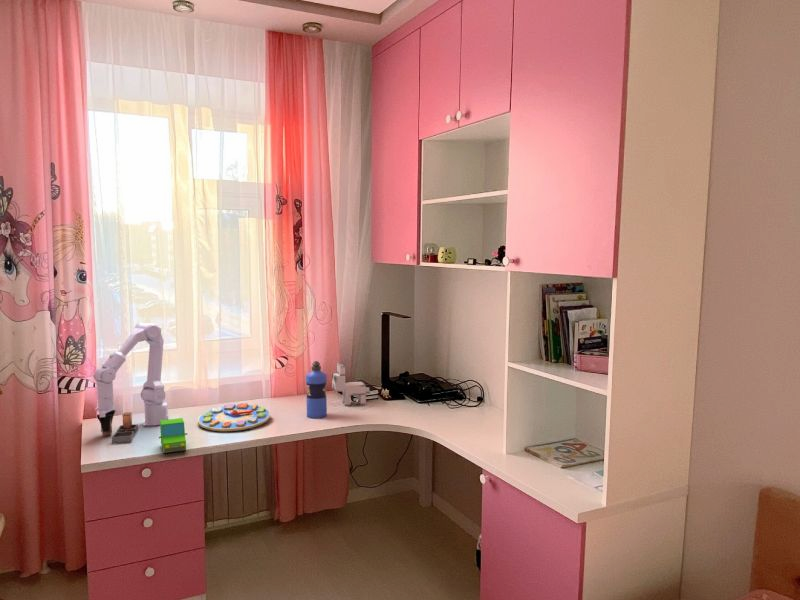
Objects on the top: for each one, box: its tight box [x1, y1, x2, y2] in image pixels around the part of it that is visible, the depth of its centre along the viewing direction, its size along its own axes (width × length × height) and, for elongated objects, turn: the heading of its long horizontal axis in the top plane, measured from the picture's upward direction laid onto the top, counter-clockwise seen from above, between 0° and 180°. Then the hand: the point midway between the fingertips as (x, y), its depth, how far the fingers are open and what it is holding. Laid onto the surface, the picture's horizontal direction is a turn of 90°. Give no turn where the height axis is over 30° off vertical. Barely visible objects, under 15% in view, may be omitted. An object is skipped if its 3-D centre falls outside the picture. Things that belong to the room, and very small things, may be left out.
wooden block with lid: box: [100, 421, 113, 436], centre depth 247 cm, size 3×3×7 cm
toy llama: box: [331, 362, 371, 407], centre depth 296 cm, size 8×18×20 cm, turn 106°
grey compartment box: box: [111, 411, 139, 445], centre depth 246 cm, size 7×17×8 cm, turn 14°
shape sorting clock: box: [197, 402, 271, 432], centre depth 266 cm, size 31×30×6 cm
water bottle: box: [305, 360, 328, 420], centre depth 275 cm, size 9×9×25 cm
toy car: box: [158, 417, 188, 455], centre depth 230 cm, size 10×13×10 cm
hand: (107, 430), depth 247 cm, fingers closed on wooden block with lid, 3 cm apart
